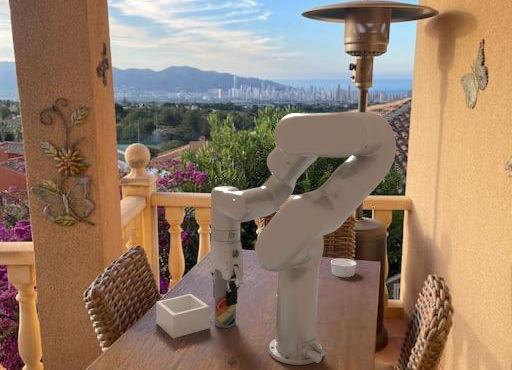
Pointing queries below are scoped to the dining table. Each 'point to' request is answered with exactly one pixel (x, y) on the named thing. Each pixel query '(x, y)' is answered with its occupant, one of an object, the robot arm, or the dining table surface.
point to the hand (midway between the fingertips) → (225, 300)
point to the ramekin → (343, 267)
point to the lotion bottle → (222, 303)
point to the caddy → (182, 315)
